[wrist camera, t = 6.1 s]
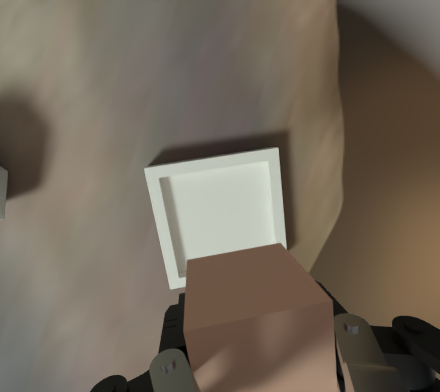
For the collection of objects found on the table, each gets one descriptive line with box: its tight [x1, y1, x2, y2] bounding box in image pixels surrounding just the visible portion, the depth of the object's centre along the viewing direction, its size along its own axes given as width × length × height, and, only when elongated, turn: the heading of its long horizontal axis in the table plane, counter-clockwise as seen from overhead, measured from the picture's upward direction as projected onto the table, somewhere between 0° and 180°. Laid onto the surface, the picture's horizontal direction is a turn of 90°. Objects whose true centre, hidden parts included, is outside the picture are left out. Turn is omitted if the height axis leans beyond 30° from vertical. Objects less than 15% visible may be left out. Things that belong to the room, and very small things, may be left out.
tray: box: [144, 147, 287, 289], centre depth 28 cm, size 14×14×2 cm
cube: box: [183, 243, 337, 392], centre depth 11 cm, size 5×5×5 cm
